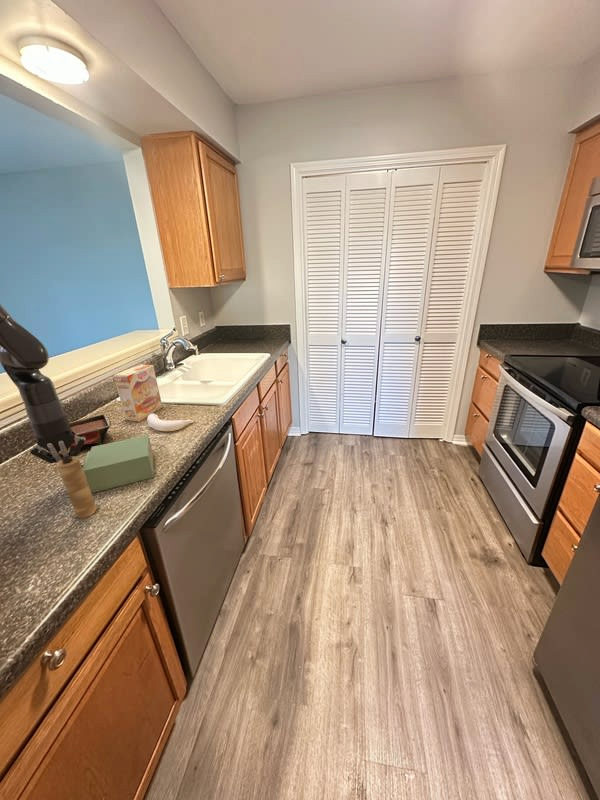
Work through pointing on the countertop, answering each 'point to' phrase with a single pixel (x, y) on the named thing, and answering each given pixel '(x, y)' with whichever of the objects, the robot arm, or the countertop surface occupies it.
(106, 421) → the baking dish
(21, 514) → the countertop surface
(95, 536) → the countertop surface
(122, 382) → the coffeecake box
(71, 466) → the pepper mill
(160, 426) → the banana
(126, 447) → the cabinet
